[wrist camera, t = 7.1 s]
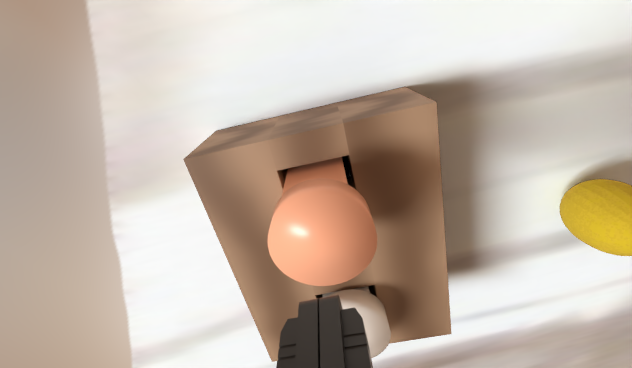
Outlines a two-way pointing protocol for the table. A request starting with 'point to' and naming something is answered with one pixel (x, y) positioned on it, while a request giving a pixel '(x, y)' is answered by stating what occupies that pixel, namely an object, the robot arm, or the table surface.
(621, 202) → the lemon
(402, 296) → the walnut block
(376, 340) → the white rounded piece
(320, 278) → the terracotta plunger
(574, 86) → the table surface
